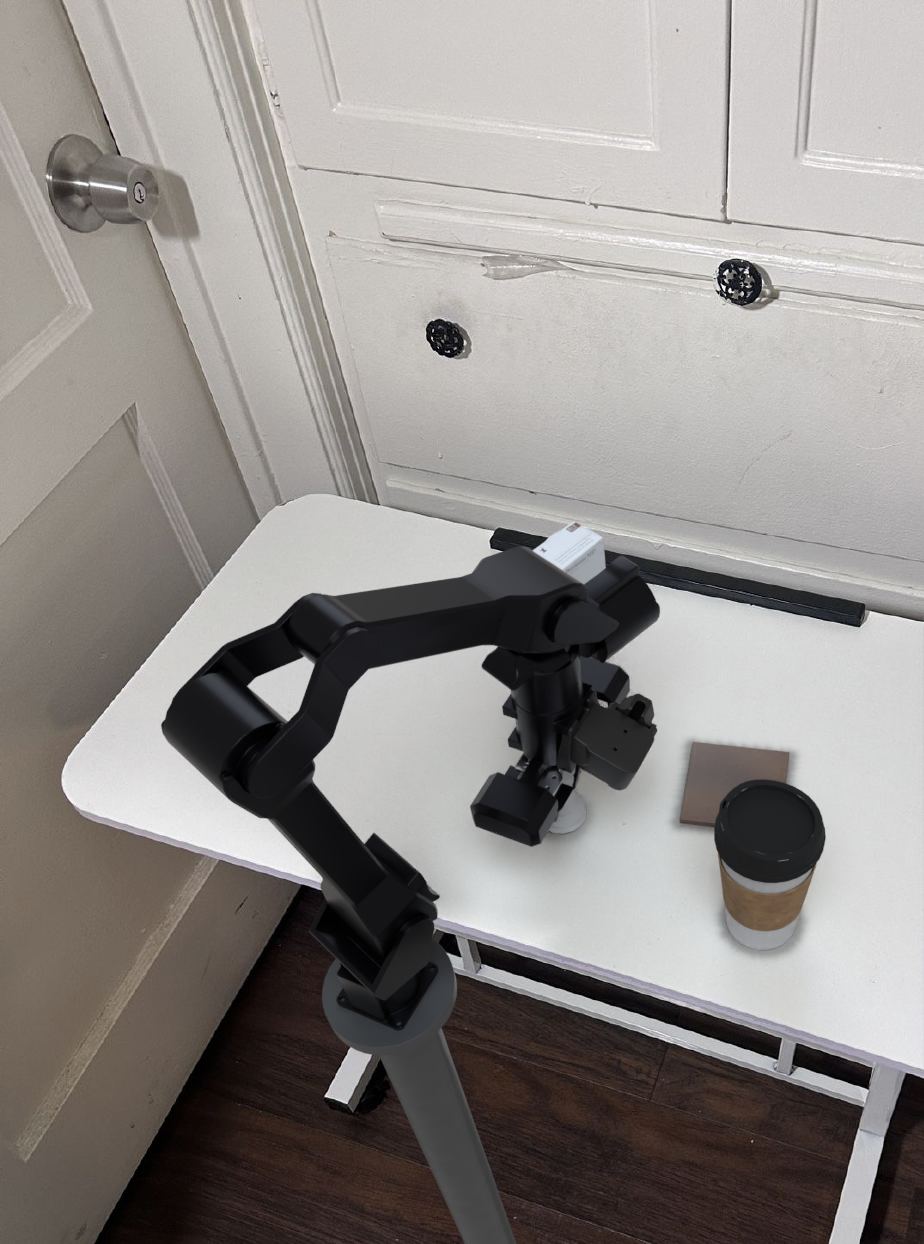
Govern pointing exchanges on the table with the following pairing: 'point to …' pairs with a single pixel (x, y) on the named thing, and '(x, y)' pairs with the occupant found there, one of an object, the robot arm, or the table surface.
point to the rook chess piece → (570, 809)
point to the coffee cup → (766, 859)
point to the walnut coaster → (724, 777)
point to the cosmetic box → (575, 552)
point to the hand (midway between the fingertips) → (560, 803)
